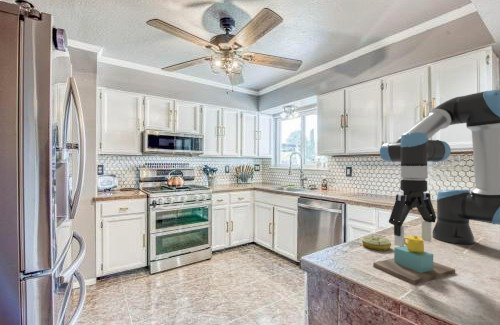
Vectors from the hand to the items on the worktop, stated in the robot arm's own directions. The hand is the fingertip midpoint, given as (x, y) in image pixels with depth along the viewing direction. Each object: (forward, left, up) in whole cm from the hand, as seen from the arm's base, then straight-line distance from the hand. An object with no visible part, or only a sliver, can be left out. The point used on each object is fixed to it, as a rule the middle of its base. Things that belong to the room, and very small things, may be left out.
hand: (413, 243), depth 83 cm
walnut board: (0, 0, -9) cm, 9 cm away
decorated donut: (-8, -21, -9) cm, 24 cm away
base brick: (0, 0, -7) cm, 7 cm away
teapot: (0, 0, -3) cm, 3 cm away
